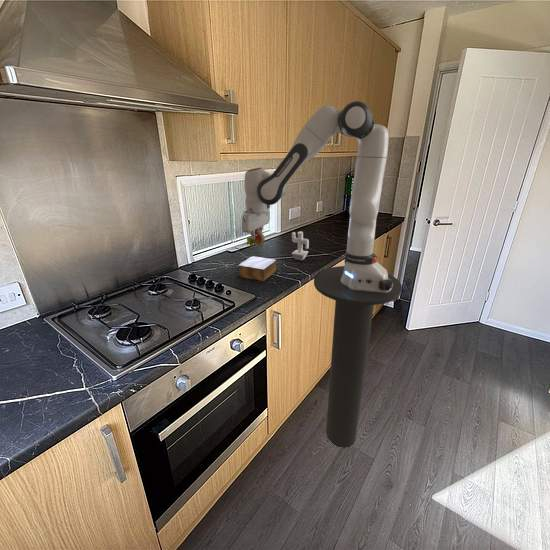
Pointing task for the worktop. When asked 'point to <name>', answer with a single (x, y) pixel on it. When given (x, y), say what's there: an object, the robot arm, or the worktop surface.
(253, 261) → the wooden block
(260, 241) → the bird rattle
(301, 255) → the figurine
